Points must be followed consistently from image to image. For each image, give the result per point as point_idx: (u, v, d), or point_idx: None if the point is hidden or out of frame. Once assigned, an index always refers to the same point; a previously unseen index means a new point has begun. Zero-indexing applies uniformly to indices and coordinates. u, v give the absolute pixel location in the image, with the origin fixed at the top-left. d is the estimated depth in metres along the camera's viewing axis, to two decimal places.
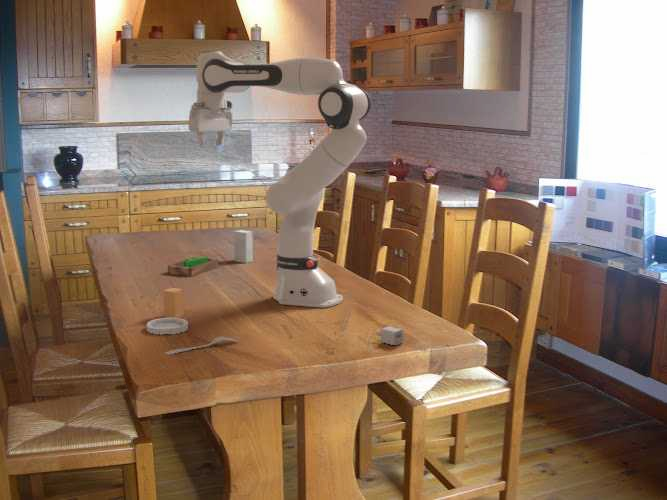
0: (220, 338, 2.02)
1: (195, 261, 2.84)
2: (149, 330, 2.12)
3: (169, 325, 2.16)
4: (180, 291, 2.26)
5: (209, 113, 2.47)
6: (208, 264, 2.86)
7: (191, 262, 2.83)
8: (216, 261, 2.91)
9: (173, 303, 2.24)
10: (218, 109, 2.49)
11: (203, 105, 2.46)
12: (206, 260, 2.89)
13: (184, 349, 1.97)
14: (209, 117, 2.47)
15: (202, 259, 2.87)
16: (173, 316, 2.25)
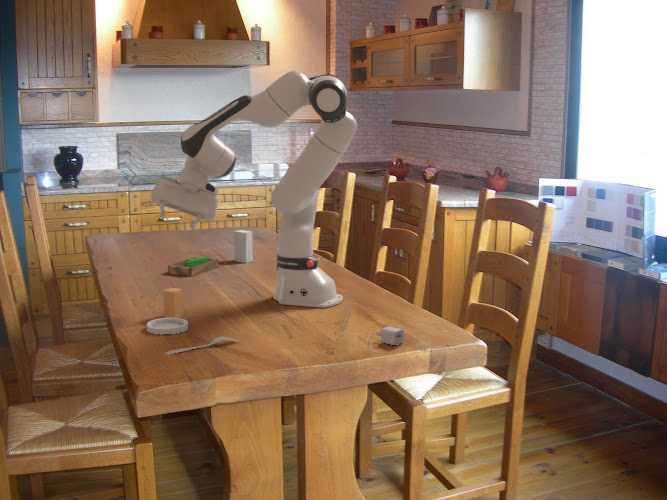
0: (220, 338, 2.02)
1: (196, 261, 2.84)
2: (149, 330, 2.12)
3: (169, 325, 2.16)
4: (180, 291, 2.26)
5: (177, 187, 2.36)
6: (208, 264, 2.86)
7: (192, 262, 2.82)
8: (216, 261, 2.91)
9: (173, 303, 2.24)
10: (189, 185, 2.36)
11: (175, 182, 2.39)
12: (207, 260, 2.89)
13: (184, 349, 1.97)
14: (177, 191, 2.36)
15: (203, 259, 2.87)
16: (173, 316, 2.25)
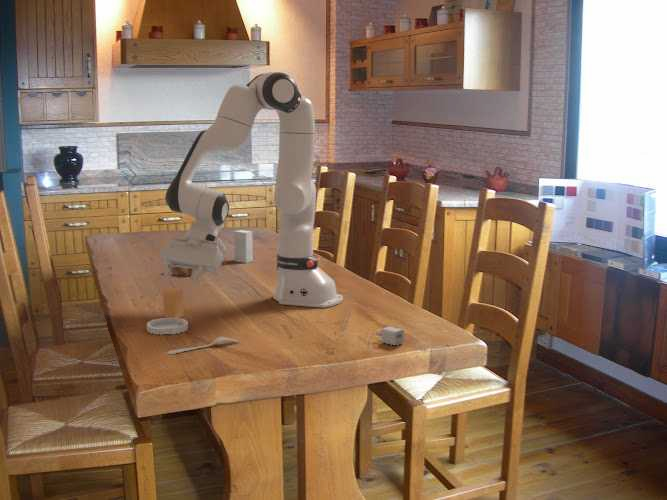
0: (221, 338, 2.02)
1: None
2: (149, 330, 2.12)
3: (169, 325, 2.16)
4: (180, 291, 2.26)
5: (182, 244, 2.35)
6: None
7: None
8: None
9: (173, 303, 2.24)
10: (191, 240, 2.33)
11: (184, 240, 2.37)
12: None
13: (184, 349, 1.97)
14: (182, 248, 2.34)
15: None
16: (173, 316, 2.25)
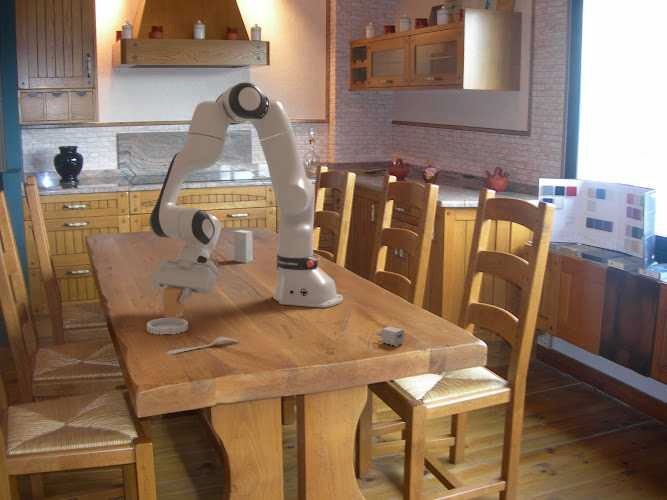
0: (221, 338, 2.02)
1: None
2: (149, 330, 2.12)
3: (169, 325, 2.16)
4: (180, 291, 2.26)
5: (174, 267, 2.31)
6: None
7: None
8: (216, 261, 2.91)
9: (173, 303, 2.24)
10: (182, 262, 2.30)
11: None
12: None
13: (185, 349, 1.97)
14: (173, 271, 2.31)
15: None
16: (173, 316, 2.25)
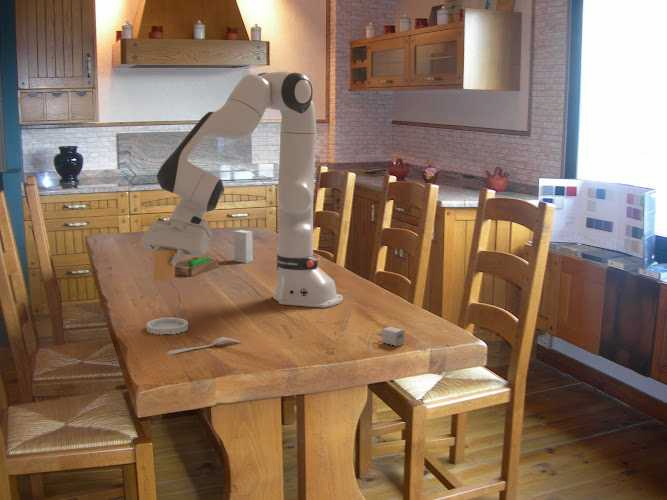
0: (222, 338, 2.02)
1: (200, 262, 2.83)
2: (149, 330, 2.12)
3: (169, 325, 2.16)
4: (172, 252, 2.13)
5: (166, 228, 2.19)
6: (208, 264, 2.86)
7: (196, 263, 2.81)
8: (216, 261, 2.91)
9: (164, 265, 2.12)
10: (175, 222, 2.17)
11: None
12: (209, 260, 2.89)
13: (185, 349, 1.97)
14: (165, 232, 2.18)
15: (205, 259, 2.87)
16: (164, 279, 2.12)
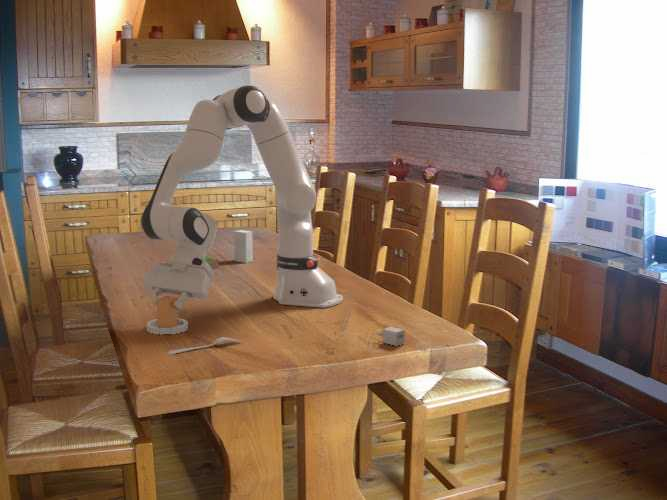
0: (222, 338, 2.02)
1: None
2: (149, 330, 2.12)
3: None
4: None
5: (168, 269, 2.19)
6: None
7: None
8: (216, 261, 2.91)
9: (167, 313, 2.12)
10: (177, 264, 2.17)
11: None
12: (209, 260, 2.89)
13: (186, 349, 1.97)
14: (167, 273, 2.18)
15: (205, 259, 2.87)
16: (167, 326, 2.13)
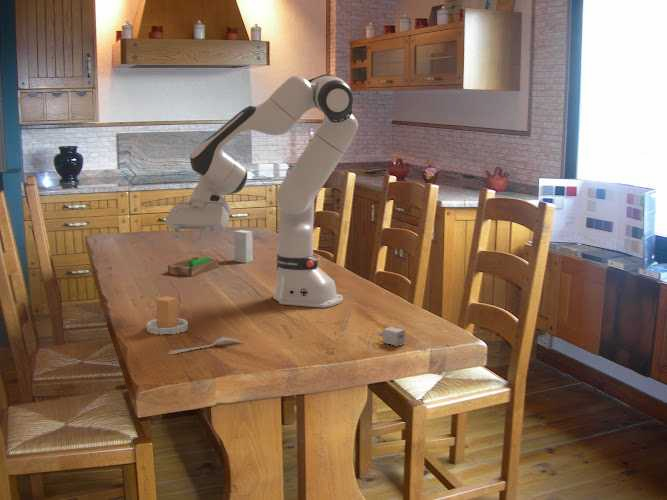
0: (223, 338, 2.02)
1: (200, 262, 2.83)
2: (149, 330, 2.12)
3: None
4: (174, 300, 2.14)
5: (187, 207, 2.37)
6: (208, 264, 2.86)
7: (197, 263, 2.82)
8: (216, 261, 2.91)
9: (167, 313, 2.12)
10: (196, 202, 2.35)
11: (189, 204, 2.40)
12: (209, 260, 2.89)
13: (186, 349, 1.97)
14: (187, 211, 2.37)
15: (205, 259, 2.87)
16: (167, 326, 2.13)
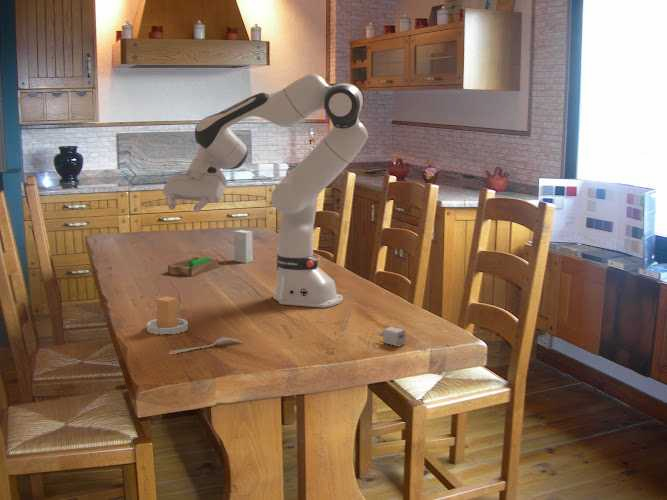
0: (223, 338, 2.02)
1: (200, 262, 2.83)
2: (149, 330, 2.12)
3: None
4: (174, 300, 2.14)
5: (185, 178, 2.42)
6: (208, 264, 2.86)
7: (197, 263, 2.82)
8: (216, 261, 2.91)
9: (167, 313, 2.12)
10: (193, 173, 2.41)
11: None
12: (209, 260, 2.89)
13: (187, 349, 1.97)
14: (184, 182, 2.42)
15: (205, 259, 2.87)
16: (167, 326, 2.13)
